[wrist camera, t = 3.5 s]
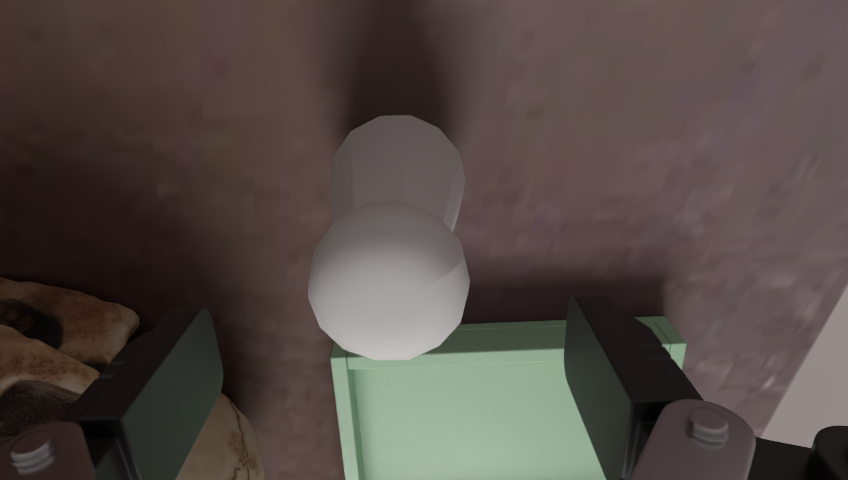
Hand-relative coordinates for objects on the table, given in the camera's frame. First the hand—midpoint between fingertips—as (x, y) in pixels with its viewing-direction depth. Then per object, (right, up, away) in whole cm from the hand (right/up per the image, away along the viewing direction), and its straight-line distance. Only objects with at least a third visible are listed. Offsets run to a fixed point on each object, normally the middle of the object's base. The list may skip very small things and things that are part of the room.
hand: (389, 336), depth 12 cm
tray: (+5, -9, +20) cm, 22 cm away
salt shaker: (0, +6, +13) cm, 15 cm away
